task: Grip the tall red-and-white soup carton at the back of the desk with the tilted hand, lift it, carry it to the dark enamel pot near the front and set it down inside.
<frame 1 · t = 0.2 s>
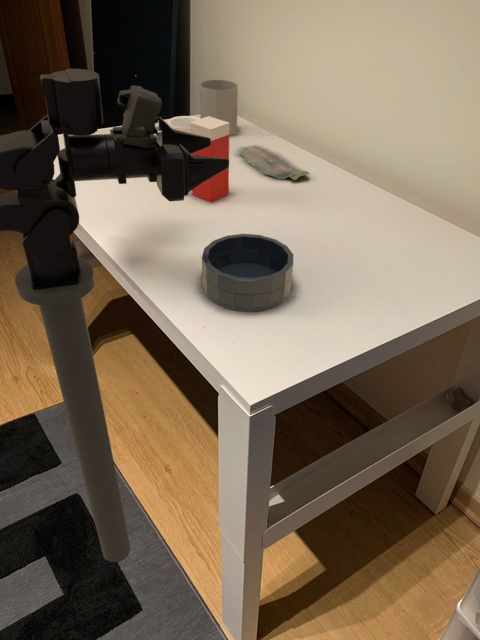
hand: (219, 152, 79), 15 cm above the table, tool horizontal, fingers open, 9 cm apart
pot: (247, 286, 80), on the table
soup carton: (210, 194, 103), on the table
leaf: (271, 165, 115), on the table
teacup: (187, 150, 120), on the table
cup: (218, 131, 130), on the table
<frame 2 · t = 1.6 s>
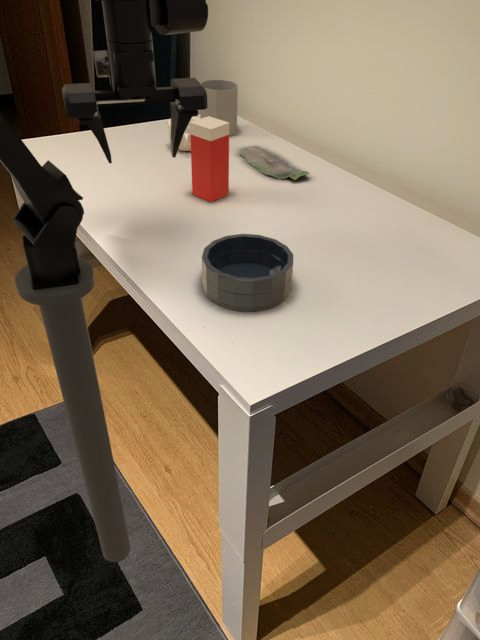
hand: (142, 159, 81), 13 cm above the table, tool pointing down, fingers open, 9 cm apart
nothing on the table moved.
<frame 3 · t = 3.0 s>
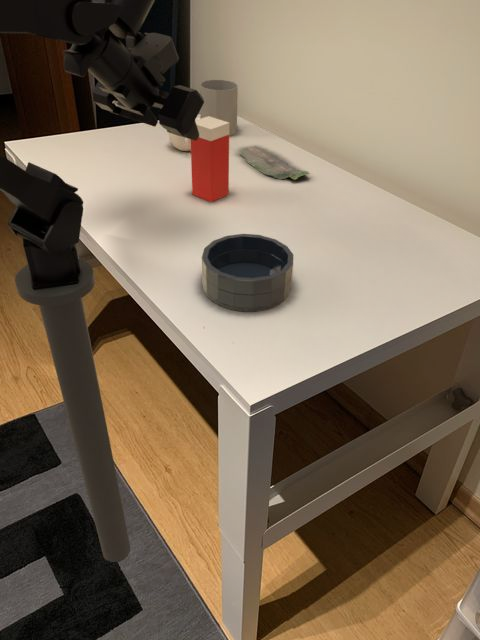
hand: (176, 130, 89), 13 cm above the table, tool tilted 45°, fingers open, 9 cm apart
nothing on the table moved.
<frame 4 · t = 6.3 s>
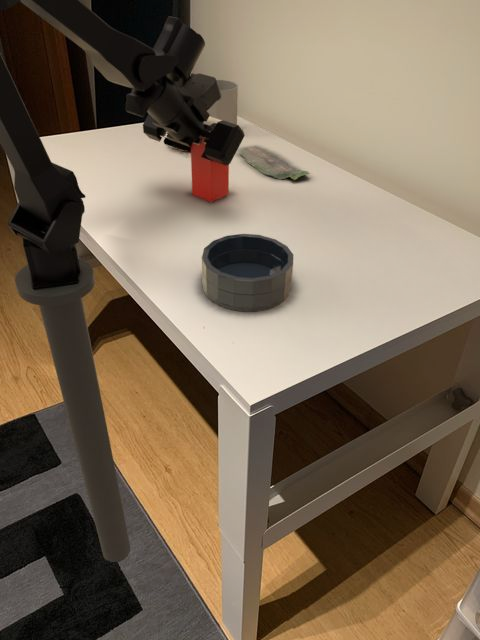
hand: (215, 157, 100), 7 cm above the table, tool tilted 45°, fingers closed on soup carton, 5 cm apart
soup carton: (210, 194, 103), on the table, touching gripper
everything else where it was.
when the fingers open (7 cm above the table, at t = 15.5 s): soup carton stays where it is, resting on pot.
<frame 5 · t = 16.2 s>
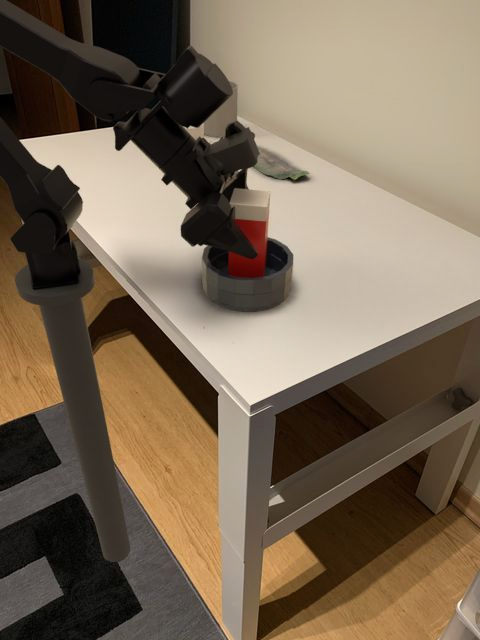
hand: (259, 239, 75), 8 cm above the table, tool tilted 45°, fingers open, 9 cm apart
soup carton: (247, 282, 80), point 1 cm above the table, touching pot
everything else where it was.
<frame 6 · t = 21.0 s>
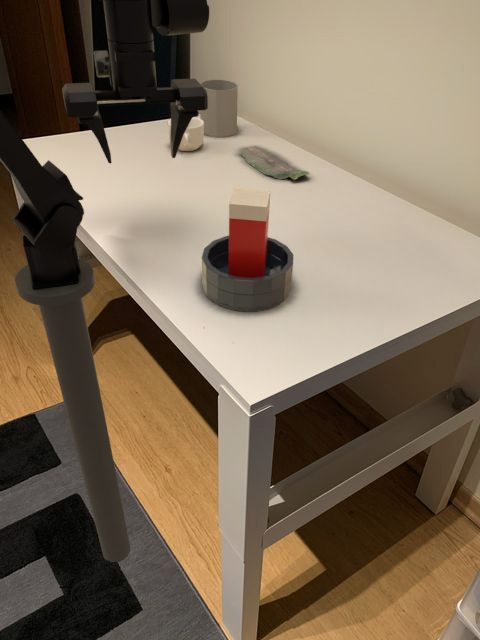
hand: (141, 159, 81), 13 cm above the table, tool pointing down, fingers open, 9 cm apart
nothing on the table moved.
at the end: soup carton inside the target area in the pot (0.0 cm from its centre), point 0.6 cm above the pot's base; the gripper is holding nothing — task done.
